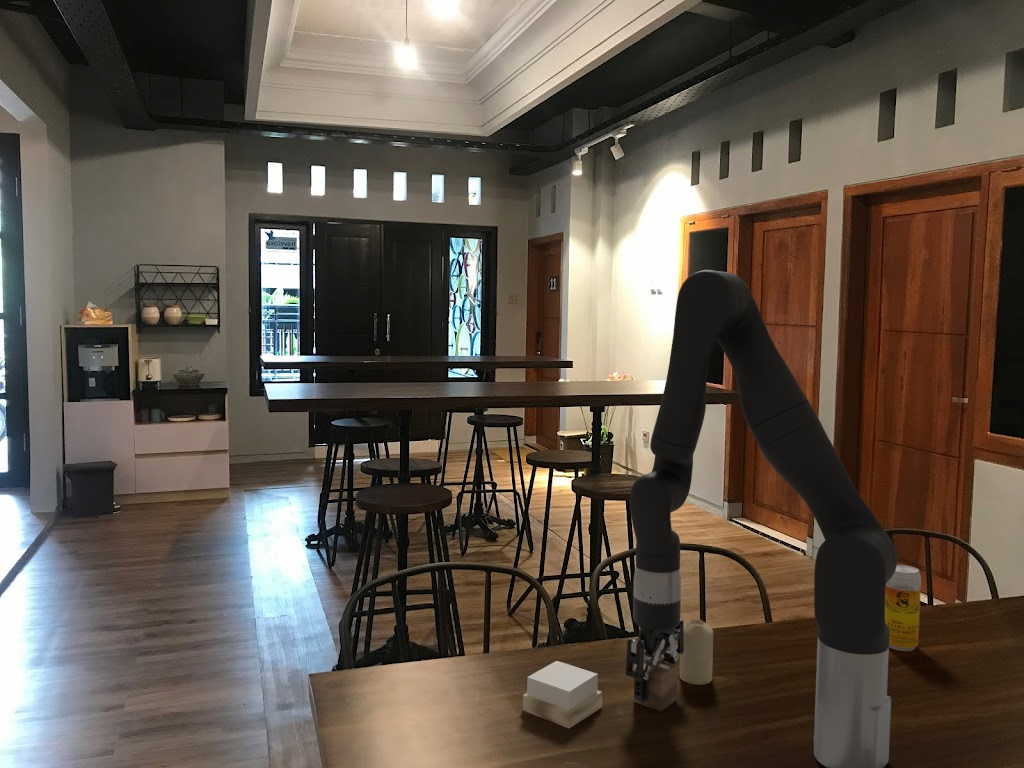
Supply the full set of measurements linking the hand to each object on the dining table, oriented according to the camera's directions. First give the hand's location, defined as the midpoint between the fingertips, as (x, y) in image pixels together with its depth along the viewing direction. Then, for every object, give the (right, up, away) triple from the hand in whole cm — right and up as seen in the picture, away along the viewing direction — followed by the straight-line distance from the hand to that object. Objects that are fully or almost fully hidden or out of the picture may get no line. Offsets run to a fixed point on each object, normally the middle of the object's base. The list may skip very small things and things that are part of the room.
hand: (655, 690), depth 135 cm
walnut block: (0, -2, 0) cm, 2 cm away
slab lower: (-15, -2, -3) cm, 16 cm away
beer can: (+51, 0, +23) cm, 55 cm away
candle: (+9, -1, +9) cm, 12 cm away
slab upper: (-15, +1, -3) cm, 16 cm away
